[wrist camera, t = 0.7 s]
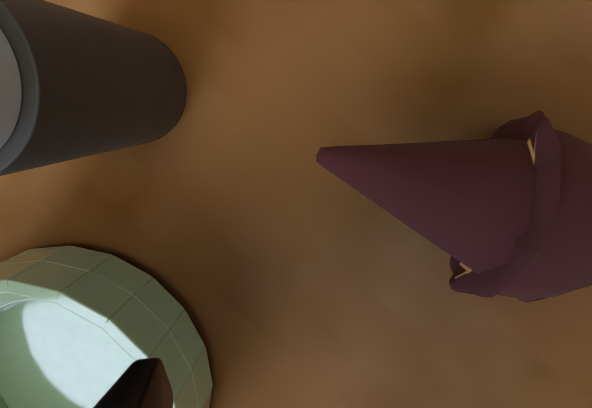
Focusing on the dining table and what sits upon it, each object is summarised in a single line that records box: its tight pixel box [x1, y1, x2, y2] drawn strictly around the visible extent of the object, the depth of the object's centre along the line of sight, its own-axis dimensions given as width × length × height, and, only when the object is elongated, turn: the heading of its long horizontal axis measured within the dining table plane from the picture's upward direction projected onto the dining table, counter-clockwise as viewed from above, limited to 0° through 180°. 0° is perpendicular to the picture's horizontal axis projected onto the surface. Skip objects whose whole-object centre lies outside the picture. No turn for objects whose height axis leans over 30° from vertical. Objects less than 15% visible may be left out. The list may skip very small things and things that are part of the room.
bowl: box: [0, 246, 213, 408], centre depth 22 cm, size 14×14×5 cm
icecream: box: [316, 110, 592, 302], centre depth 17 cm, size 7×7×15 cm
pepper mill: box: [0, 0, 186, 176], centre depth 15 cm, size 5×5×13 cm
